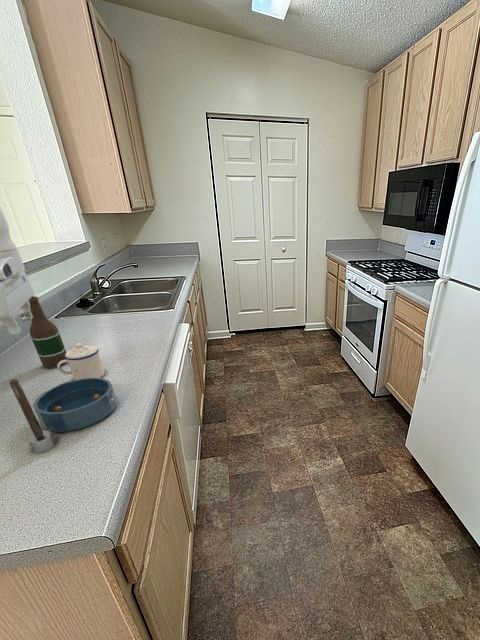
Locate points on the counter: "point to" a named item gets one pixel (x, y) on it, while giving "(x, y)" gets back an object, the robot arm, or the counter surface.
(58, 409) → the bead
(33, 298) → the beer bottle
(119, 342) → the counter surface
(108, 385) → the bowl
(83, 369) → the teacup with lid
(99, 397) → the bead
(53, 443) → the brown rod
